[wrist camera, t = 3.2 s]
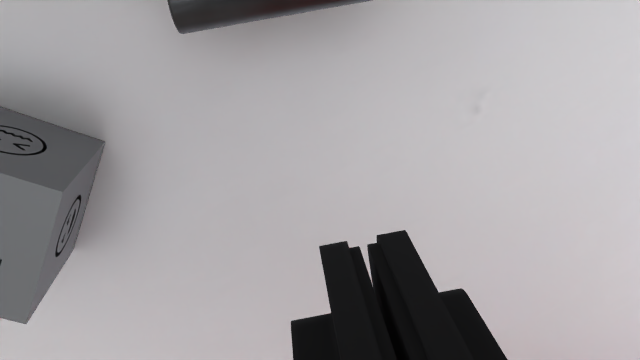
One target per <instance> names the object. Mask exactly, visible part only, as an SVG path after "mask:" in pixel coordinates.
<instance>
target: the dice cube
mask: <svg viewBox="0 0 640 360" xmlns="http://www.w3.org/2000/svg"><path fill="white" fill-rule="evenodd" d="M104 144H105V141H102V140H99V139H96V138H93V137H90V136H87V135H84V134H81V133H78V132H75V131H72V130H69V129H66V128H63V127H60V126H57V125H54V124H51V123H48V122H45V121H42V120H39V119H36V118H33V117H30V116H27V115H24V114H21V113H18V112H15V111H12V110H9V109H6V108H3V107H0V318H3V319H7V320H11V321H15V322H19V323H23V324H27V322H28V321H29V319H30V317H31V316H32V314H33V313H34V311H35V310H36V308H37V306H38V305H39V303H40V302H41V300H42V298H43V297H44V295H45V294H46V292H47V291H48V289H49V287H50V286H51V284H52V283H53V281H54V280H55V278H56V276H57V275H58V273H59V272H60V270H61V268H62V267H63V265H64V264H65V262H66V261H67V259H68V257H69V256H70V254H71V253H72V251H73V249H74V245H75V242H76V239H77V235H78V232H79V228H80V225H81V222H82V218H83V215H84V212H85V208H86V205H87V201H88V198H89V195H90V191H91V188H92V185H93V181H94V178H95V174H96V171H97V168H98V164H99V161H100V158H101V154H102V151H103V147H104Z"/></svg>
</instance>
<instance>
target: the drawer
mask: <svg viewBox="0 0 640 360" xmlns="http://www.w3.org/2000/svg"><path fill="white" fill-rule="evenodd" d="M366 1H371V0H168V5H169V9H170V12H171V16H172V19H173V21H174V24H175V26H176V28H177V30H178V32H179V33H180V34H185V33H191V32H197V31H202V30H208V29H214V28H219V27H225V26H231V25H236V24H242V23H247V22H253V21H259V20H264V19H270V18H276V17H281V16H287V15H293V14H298V13H304V12H309V11H315V10H321V9H326V8H332V7H338V6H343V5H349V4H355V3H360V2H366Z"/></svg>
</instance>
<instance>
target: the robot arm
mask: <svg viewBox="0 0 640 360" xmlns="http://www.w3.org/2000/svg"><path fill="white" fill-rule="evenodd" d="M367 247H368V255H369V262H370V269H371V276H372V283H373V286H372V283H371V280H370V277H369V274H368V271H367V268H366V265H365V262H364V259H363V256H362V253H361V250H360V247H359V246H358V247H353V248H349V247H348V243H347V241H344V242H339V243H334V244H328V245H323V246H319V248H320V254H321V259H322V265H323V270H324V275H325V281H326V286H327V292H328V297H329V303H330V308H331V313H330V314H325V315H320V316H314V317H309V318H304V319H299V320H294V321H291V333H292V346H293V360H507V358H506V357H505V355H504V353H503V352H502V350H501V349H500V347H499V345H498V344H497V342H496V340H495V339H494V337H493V336H492V334H491V332H490V331H489V329H488V327H487V326H486V324H485V322H484V321H483V319H482V318H481V316H480V314H479V313H478V311H477V309H476V308H475V306H474V305H473V303H472V301H471V300H470V298H469V296H468V295H467V293H466V292H465V291H464V290H463V289H455V290H450V291H445V292H440V293H438V291H437V289H436V287H435V285H434V283H433V281H432V279H431V277H430V276H429V274H428V272H427V270H426V268H425V266H424V264H423V262H422V260H421V259H420V257H419V255H418V253H417V251H416V249H415V247H414V245H413V244H412V242H411V240H410V238H409V236H408V234H407V232H406V231H405V230H403V231H397V232H392V233H387V234H381V235H377V243H374V244H369V245H368V246H367Z"/></svg>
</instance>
